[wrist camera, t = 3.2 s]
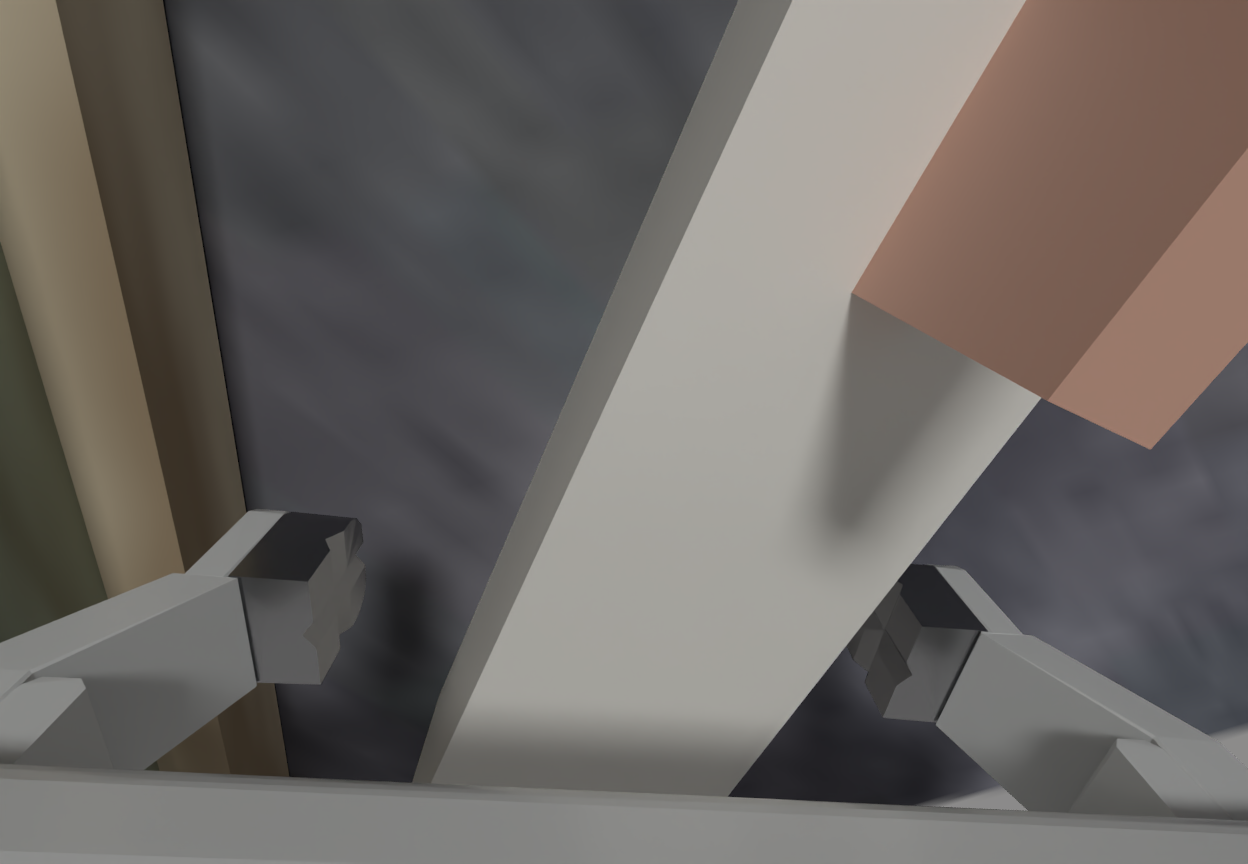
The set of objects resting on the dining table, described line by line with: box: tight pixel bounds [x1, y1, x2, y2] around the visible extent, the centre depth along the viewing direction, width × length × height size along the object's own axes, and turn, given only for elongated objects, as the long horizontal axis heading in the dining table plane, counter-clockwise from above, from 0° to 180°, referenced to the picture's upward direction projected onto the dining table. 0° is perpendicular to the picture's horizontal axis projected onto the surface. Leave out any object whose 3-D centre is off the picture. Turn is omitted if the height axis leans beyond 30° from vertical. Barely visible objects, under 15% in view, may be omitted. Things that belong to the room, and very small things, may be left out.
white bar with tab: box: [412, 0, 1248, 797], centre depth 9 cm, size 4×16×8 cm, turn 156°
